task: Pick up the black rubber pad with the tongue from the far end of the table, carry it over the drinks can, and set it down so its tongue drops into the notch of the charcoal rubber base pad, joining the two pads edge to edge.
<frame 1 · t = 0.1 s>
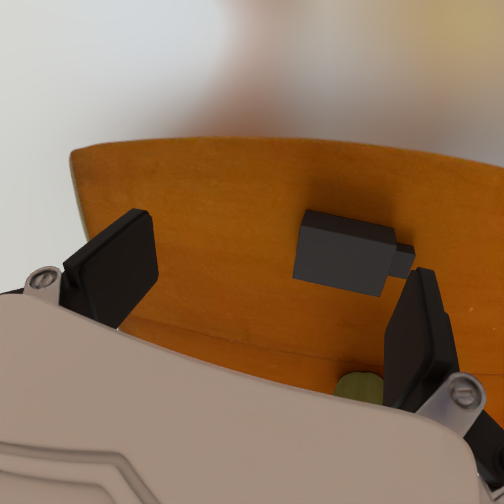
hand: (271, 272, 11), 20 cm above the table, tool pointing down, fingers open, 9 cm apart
plant pot: (361, 383, 43), on the table
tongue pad: (344, 244, 32), on the table
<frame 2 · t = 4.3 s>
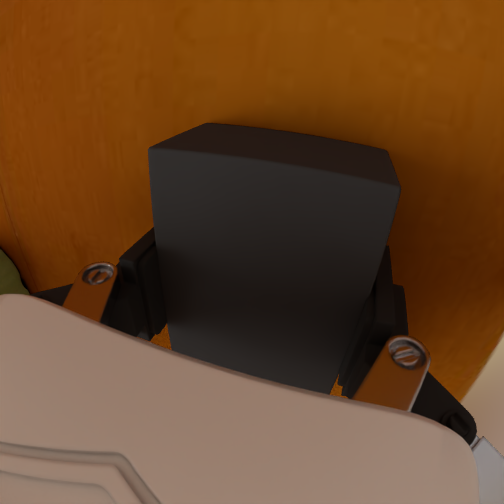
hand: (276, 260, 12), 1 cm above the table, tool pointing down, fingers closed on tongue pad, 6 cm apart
plant pot: (9, 276, 21), on the table
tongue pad: (279, 252, 12), on the table, touching gripper
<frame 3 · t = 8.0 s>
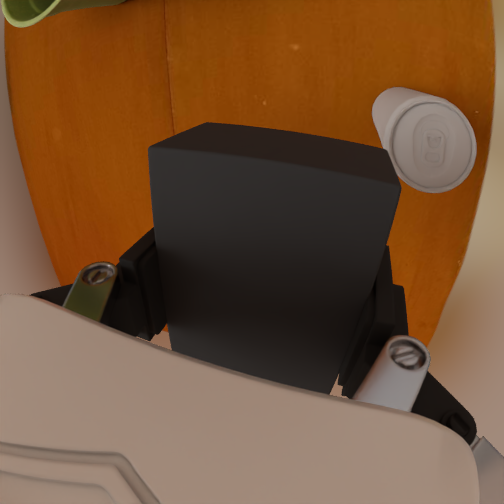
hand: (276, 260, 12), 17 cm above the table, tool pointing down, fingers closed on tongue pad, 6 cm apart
beverage can: (399, 115, 22), on the table
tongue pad: (280, 251, 12), point 17 cm above the table, touching gripper
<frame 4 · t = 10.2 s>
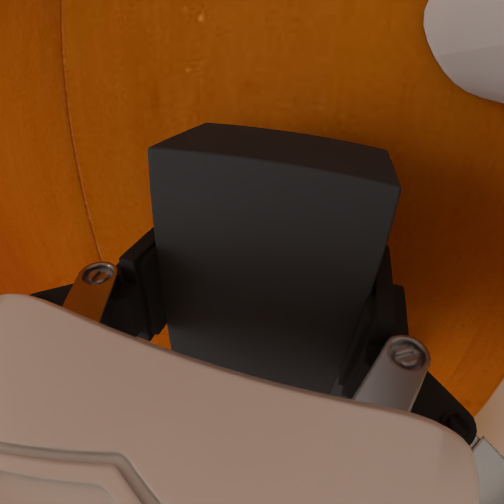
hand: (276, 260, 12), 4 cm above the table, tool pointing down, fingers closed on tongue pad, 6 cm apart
beverage can: (474, 40, 8), on the table
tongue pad: (279, 252, 12), point 3 cm above the table, touching gripper
when the fingers open (1 cm above the table, at t = 11.6 s): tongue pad stays where it is, on the table.
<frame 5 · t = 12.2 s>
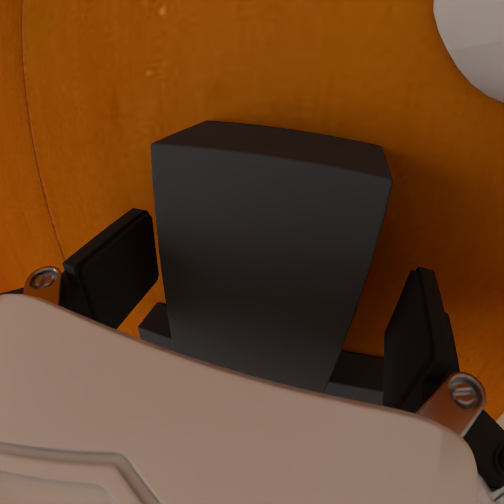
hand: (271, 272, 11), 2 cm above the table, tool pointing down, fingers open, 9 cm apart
beverage can: (493, 32, 6), on the table
base pad: (259, 397, 18), on the table
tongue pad: (277, 246, 12), on the table
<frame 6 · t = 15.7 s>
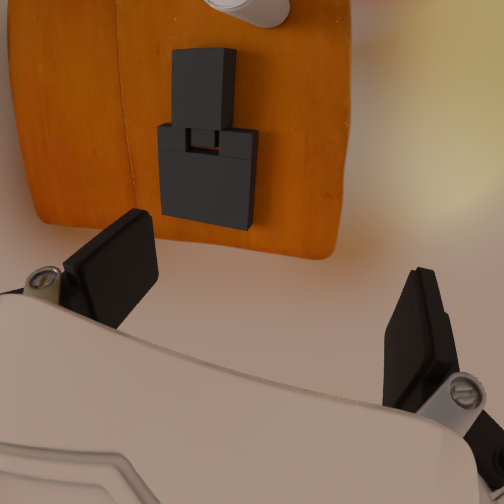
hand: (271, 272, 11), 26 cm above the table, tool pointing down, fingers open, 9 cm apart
beverage can: (269, 9, 27), on the table
base pad: (208, 172, 39), on the table
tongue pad: (209, 86, 33), on the table
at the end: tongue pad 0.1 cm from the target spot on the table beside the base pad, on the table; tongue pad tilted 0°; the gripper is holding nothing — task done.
